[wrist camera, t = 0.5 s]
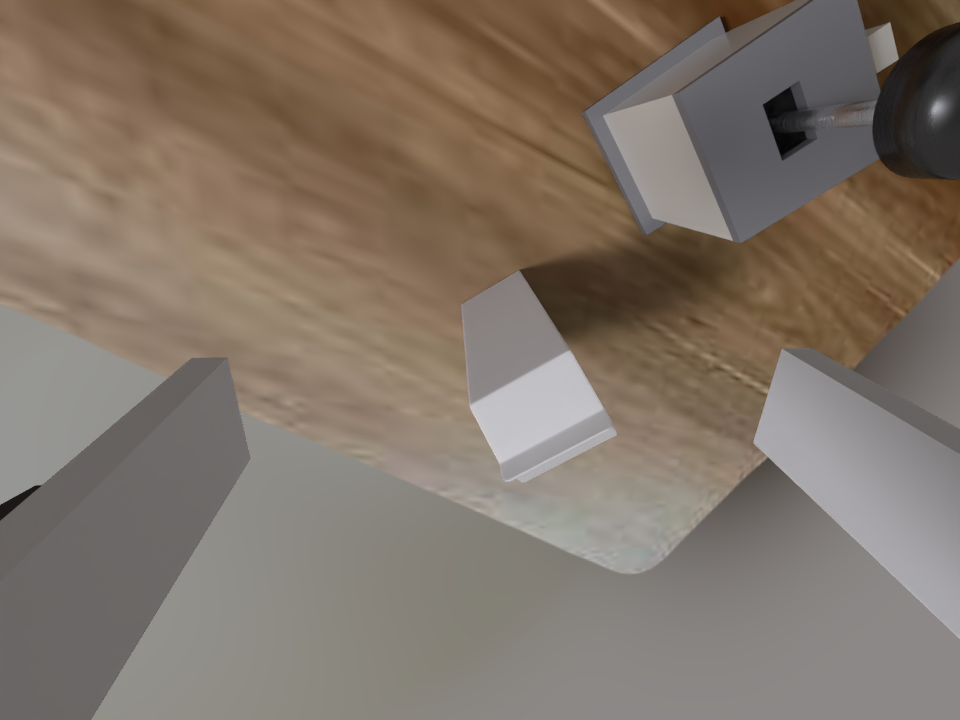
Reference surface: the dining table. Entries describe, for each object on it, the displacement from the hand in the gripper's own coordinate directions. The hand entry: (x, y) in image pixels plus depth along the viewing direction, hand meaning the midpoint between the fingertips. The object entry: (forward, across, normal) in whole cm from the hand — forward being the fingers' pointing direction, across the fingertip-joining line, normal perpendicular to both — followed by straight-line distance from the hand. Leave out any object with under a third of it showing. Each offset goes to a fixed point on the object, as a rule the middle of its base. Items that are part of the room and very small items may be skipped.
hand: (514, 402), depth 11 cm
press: (+30, +17, +7) cm, 35 cm away
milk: (+30, +4, -8) cm, 32 cm away
